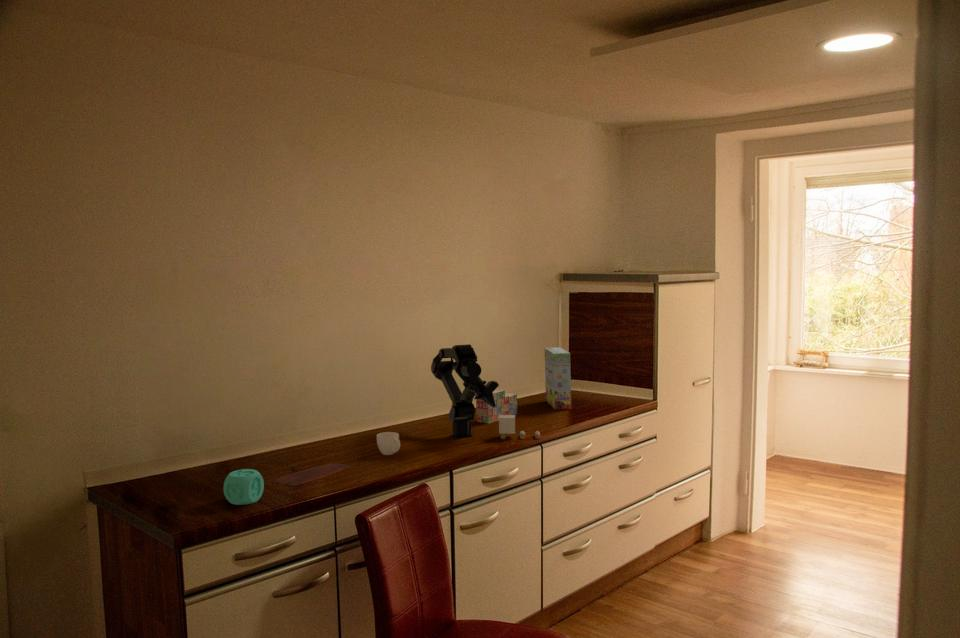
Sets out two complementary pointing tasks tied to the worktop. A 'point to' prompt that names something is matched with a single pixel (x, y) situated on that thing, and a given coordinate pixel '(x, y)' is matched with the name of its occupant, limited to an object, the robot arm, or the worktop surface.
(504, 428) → the slab
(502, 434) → the roller
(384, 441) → the cup
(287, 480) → the wooden tablet
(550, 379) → the snack box
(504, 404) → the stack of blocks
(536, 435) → the roller
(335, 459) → the worktop surface
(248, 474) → the decorative dice
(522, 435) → the cylinder
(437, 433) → the worktop surface
